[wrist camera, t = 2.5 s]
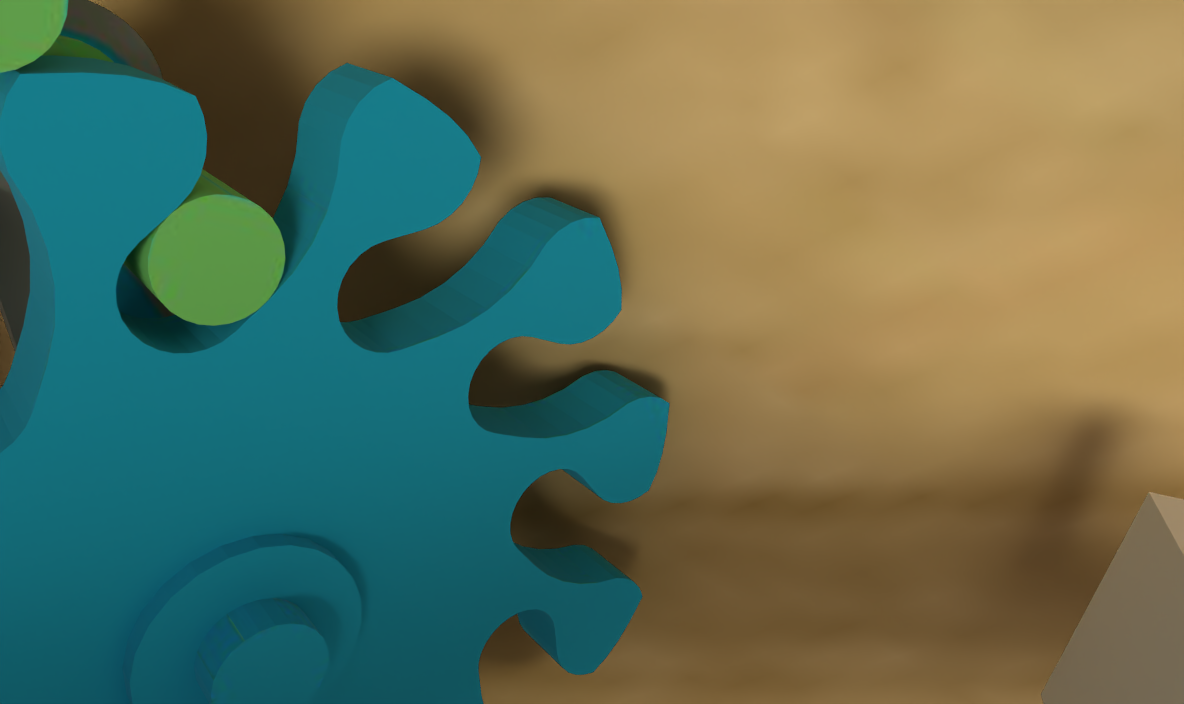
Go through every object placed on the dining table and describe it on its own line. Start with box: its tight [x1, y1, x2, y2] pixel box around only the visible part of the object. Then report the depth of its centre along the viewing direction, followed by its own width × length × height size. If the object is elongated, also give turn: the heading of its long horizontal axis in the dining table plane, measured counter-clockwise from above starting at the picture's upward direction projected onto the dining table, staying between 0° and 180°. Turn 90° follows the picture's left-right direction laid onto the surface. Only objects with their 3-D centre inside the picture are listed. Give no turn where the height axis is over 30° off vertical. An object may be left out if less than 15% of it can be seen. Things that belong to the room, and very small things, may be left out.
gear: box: [0, 0, 669, 704], centre depth 10 cm, size 11×6×10 cm
